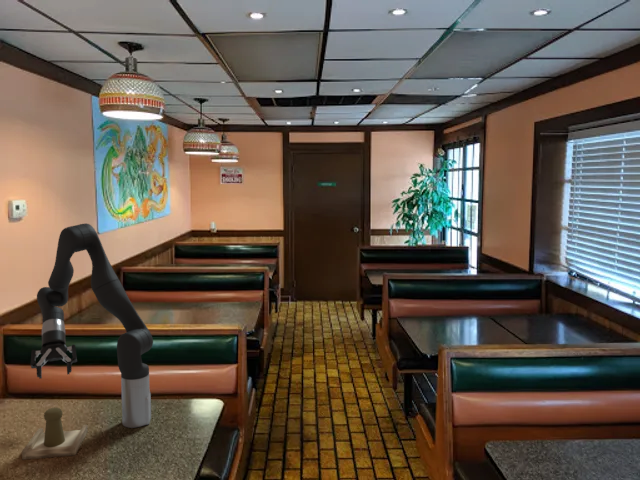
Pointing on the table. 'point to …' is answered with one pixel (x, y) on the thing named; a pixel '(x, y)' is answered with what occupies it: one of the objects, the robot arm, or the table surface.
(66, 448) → the beige square tray
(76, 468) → the table surface
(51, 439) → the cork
